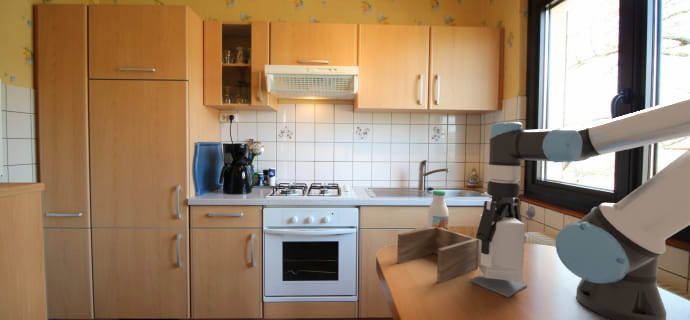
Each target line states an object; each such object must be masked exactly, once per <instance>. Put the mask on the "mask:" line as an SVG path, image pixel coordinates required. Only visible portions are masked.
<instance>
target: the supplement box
mask: <svg viewBox="0 0 690 320" xmlns="http://www.w3.org/2000/svg"><path fill="white" fill-rule="evenodd" d="M481 217H482V214H481V213H480V214H479V221H478V222H479V224H480V220H481ZM493 224H494V222H492V225H493ZM525 239H526V224H525V223H523V222H520V221H519V220H517V219H516V218H509V217H503V219H502V220H500V221H499V222H497V224H496V231H495V233H494V236H493V238H492V242H493V261H492V267H491V268H490V267H487V266H484V265H482V264H480V262H481V243H482V241H481V240H480V239H479V243H478V268H479V269H480V271H481V274H484V276H485V277H486V278H492V279H502V280H511V281H518V282H521V283H523V274H524V273H523V272H524V271H523V270H524V257H525V256H524V255H525Z"/></svg>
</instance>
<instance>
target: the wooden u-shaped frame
mask: <svg viewBox="0 0 690 320" xmlns="http://www.w3.org/2000/svg"><path fill="white" fill-rule="evenodd" d="M478 243H479V239H477V238H476V237H472V236H470V235H469V236H468V235H466V234H462V233H459V232H455V231H453V230H449V229H448V230H446V229H442V228H439V227H435V226H434V227H429V228H427V227H425V228H421V229H417V230H416V229H415V230H411V231H407V232H406V231H405V232H402V233H399V234H397V250H396V251H397V254H396V256H397V257H396V263H397V262H398V264H403V263H402V262H404V263H406V261H407V262H410V261H413V259H414V260H417V259H420V258H423V257H422V256H424V257H426V256H425V255H427V256H430V255H429V254H431V255H433V254H432V253H434V254H435V253H436V255H437V267H436V268H437V269H436V270H437V272H436V282H438V283H440V284H443V283H445V282H446V281H449V280H451V279H455V278H457V277H460V276H462V275H465V274H467V273H469V272H473V271H475V270H477V269H478V268H479V267H478ZM419 257H420V258H419ZM416 258H417V259H416ZM409 260H410V261H409Z"/></svg>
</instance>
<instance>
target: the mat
mask: <svg viewBox="0 0 690 320" xmlns="http://www.w3.org/2000/svg"><path fill="white" fill-rule="evenodd" d="M470 282H472V283H474V284H475V285H478V286H480V287H483V288H485V289H488V290H490V291H492V292H495V293H497V294H500V296H501V295H502V296H504V297H507V298H509V297H512V296H513V295H515V294H517V293H518V292H520V291H523V290H524V289H525V288H527V287H528V284H527V283H524V282H519V281H511V280H502V279H492V278H486V277H485V276H484V274H483V273H481V274H480V275H477V276H475V277H473V278H471V279H470Z"/></svg>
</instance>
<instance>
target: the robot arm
mask: <svg viewBox="0 0 690 320" xmlns="http://www.w3.org/2000/svg"><path fill="white" fill-rule="evenodd" d="M489 135H490V136H489V139H488V141H489V153H488V154H489V157H488V168H487V173H488V174H487V175H488V176H487V179H488V181H487V187H486V188H487V189H486V193H487V195H489V196H491V201H487V200H484V202H483V211H482V217H481V220H480V219H479V221H480V224H479V225H478V228H477V231H476V235H475V238H477V239H480V240H481V241H482V243H481V262H480V264H482V265H484V266H487V267H490V268H491V267H492V261H493V242H492V238H493V236H494V233H495V231H496V224H497V222H499V221H500V220H502V219H503V217H509V218H516V219H517V220H519V221H520V222H522V221H523V220H522V216H521V210H520V209H521V208H520V198H518V197H519V196H520V188H521V187H520V185H521V184H520V183H518V182H520V181H521V172H522V171H521V170H522V168H521V167H522V161H527V160H528V161H539V162H553V163H572V162H582V161H585V160H588V159H590V158H594V157H598V156H602V155H606V154H611V153H616V152H620V151H621V152H622V151H624V150H631V149H635V148H639V147H644V146H648V145H653V144H657V143H662V142H667V141H673V140H676V139H682V138H685V137H690V96H688V97H684V98H681V99H677V100H673V101H670V102H666V103H663V104H660V105H655V106H653V107H650V108H649V107H648V108H646V109H642V110H640V111H639V110H638V111H636V112H633V113H628V114H624V115H622V116H618V117H615V118H612V119H608V120H604V121H602V122H598V123H595V124H591V125H589V126H584V127H581V128H577V129H574V128H561V127H559V128H548V129H547V128H545V129H543V128H542V129H524V125H523V123H521V122H518V121H517V122H515V121H514V122H513V121H512V122H511V121H508V122H507V121H506V122H504V121H503V122H496V123H493V124H492V125H491V127H490V134H489ZM492 222H494V224H493V225H492ZM522 223H523V222H522ZM688 226H689V227H690V148H689V149H687V151H685V152H684V153H682V154H681V155H680V156H678V157H677V158H676V159H674V160H673V161H672V162H670V163H669V164H667V165H666V166H665V167H663V168H662V169H661V170H660V171H658V172H657V173H656V174H654V175H653V176H652V177H650V178H648V179H647V180H646V181H645V182H644V183H642V184H641V185H640V186H638V187H637V188H636V189H634V190H633V191H631V192H630V193H629V194H628V195H626V196H624V197H623V198H622V199H621V200H619V201H618V202H616V203H615V202H602V203H600V204H599V205H598V206H594V207H593V208H591V210H590V212H588V213H587V214H586V215H584V216H583V217H582V218H581V219H580V220H578V221H576V222H570V223H568V224H566V225H565V226H564V227H563V228H562V229H560V231H559V232H558V234H557V235H556V239H555V241H554V242H555V243H554V244H555V249H556V250H555V251H556V254H557V257H558V258H559V260H560V261H561V263H562V264H563V265H564V267H565V268H566V269H567V270H568V271H569V272H571V273H572V274H573V275H574V276H576V277H578V278H580V279H581V280H580V281H579V283H578V285H577V286H576V293H575V294H576V297H575V298H576V300H577V301H578V302H579V304H581V305H582V306H583V307H585V308H587V309H588V310H590V311H591V312H593V313H595V314H597V315H600V316H601V317H602V316H603V317H605V318H608V319H610V320H667V310H666V308H665V305H664V302H663V300H662V297H661V293H660V291H659V288H658V284H657V282H658V281H657V280H658V279H657V278H658V267H659V257H660V256H661V255H663V254H664V253H665V252H666V251H667V248H666V247H667V246H666V240H667V239H668V238H670V237H672V236H674V235H675V234H677V233H678V232H680V231H682V230H684V229H685V228H687V227H688Z"/></svg>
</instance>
